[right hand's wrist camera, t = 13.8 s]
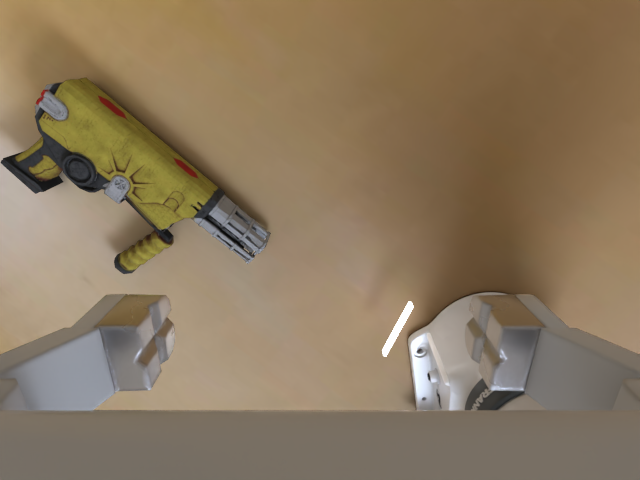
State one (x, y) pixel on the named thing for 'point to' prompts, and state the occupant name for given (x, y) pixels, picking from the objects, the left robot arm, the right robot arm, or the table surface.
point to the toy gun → (127, 171)
